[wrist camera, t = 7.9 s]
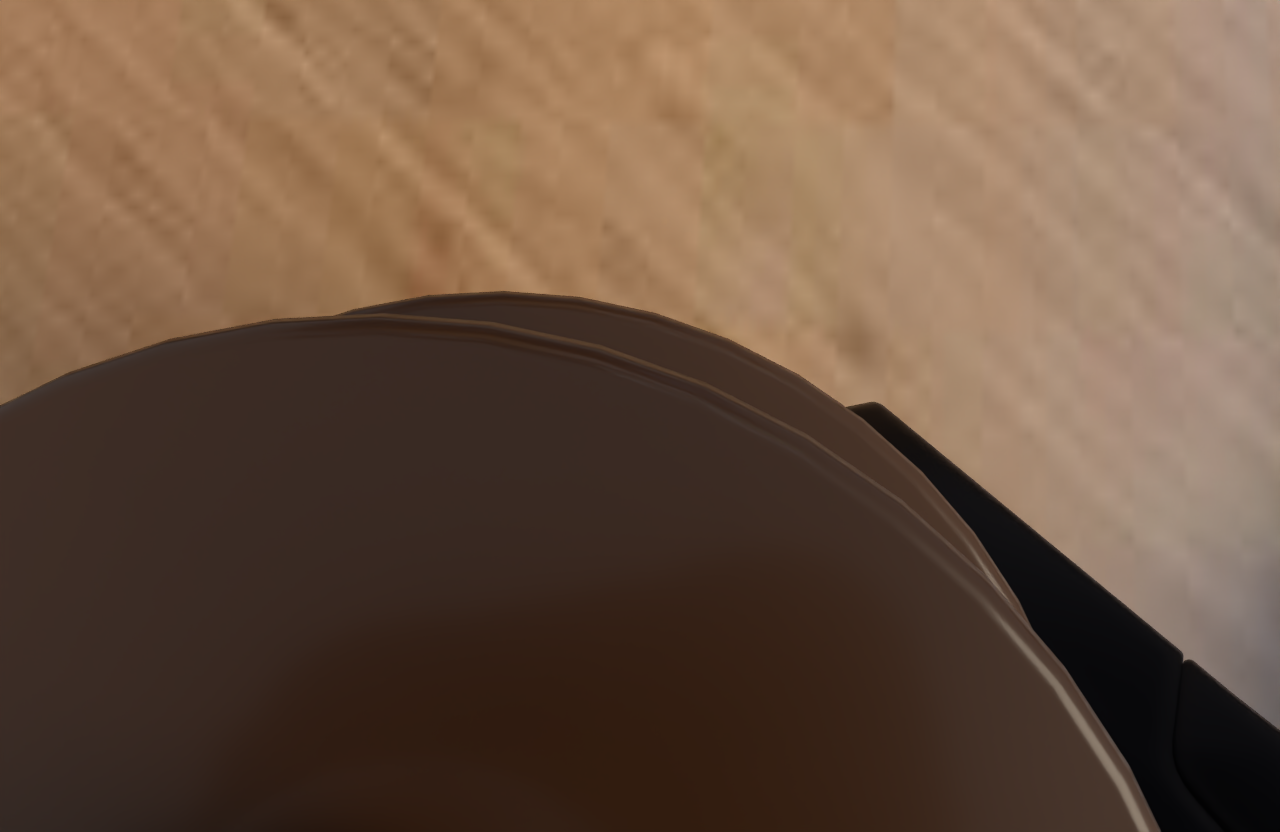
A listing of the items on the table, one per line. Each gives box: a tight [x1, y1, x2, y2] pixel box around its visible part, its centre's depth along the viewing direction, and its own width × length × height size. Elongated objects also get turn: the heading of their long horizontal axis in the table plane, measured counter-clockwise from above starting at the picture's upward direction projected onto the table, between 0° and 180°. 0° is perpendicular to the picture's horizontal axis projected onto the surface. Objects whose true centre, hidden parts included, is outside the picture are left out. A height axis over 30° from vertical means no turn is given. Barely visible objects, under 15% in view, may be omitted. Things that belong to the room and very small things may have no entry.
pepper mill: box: [0, 291, 1161, 832], centre depth 9 cm, size 5×5×15 cm
